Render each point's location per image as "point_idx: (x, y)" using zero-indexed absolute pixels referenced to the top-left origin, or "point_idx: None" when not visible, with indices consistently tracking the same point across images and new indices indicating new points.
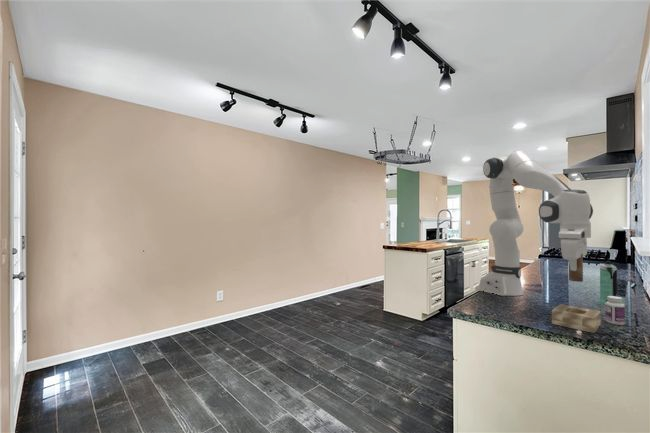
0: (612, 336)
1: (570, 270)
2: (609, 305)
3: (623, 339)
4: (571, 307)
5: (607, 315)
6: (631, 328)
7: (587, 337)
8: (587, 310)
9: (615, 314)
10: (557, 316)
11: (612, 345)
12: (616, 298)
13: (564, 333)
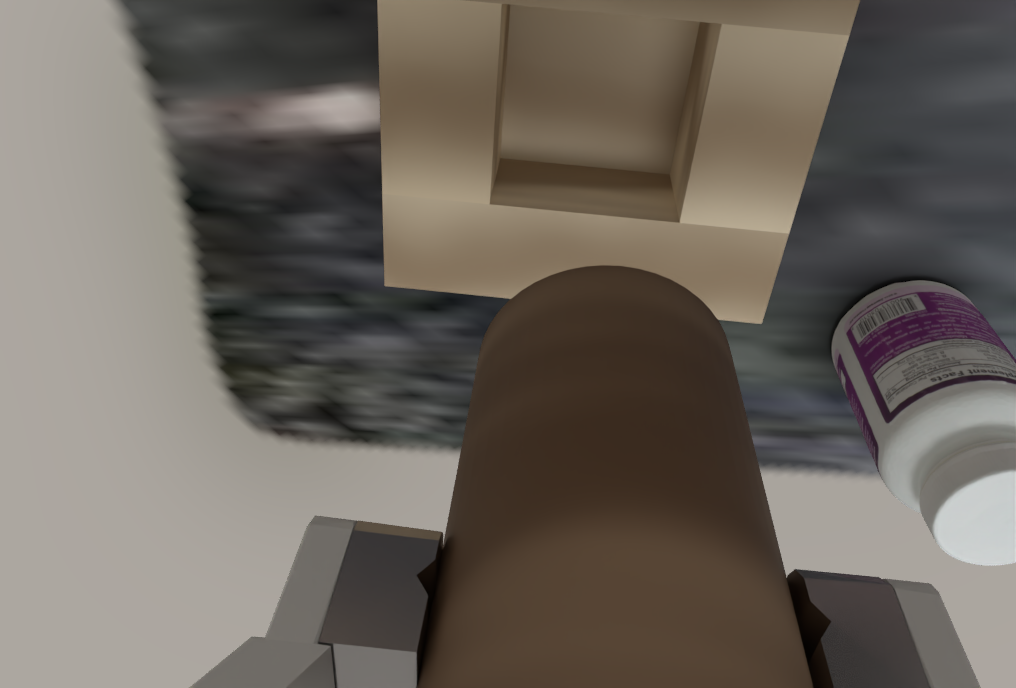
0: (435, 316)
1: (488, 476)
2: (906, 416)
3: (420, 368)
4: (757, 56)
5: (889, 328)
6: (778, 415)
7: (240, 179)
8: (710, 221)
9: (856, 397)
10: None
11: (209, 316)
12: (938, 530)
13: (171, 10)
